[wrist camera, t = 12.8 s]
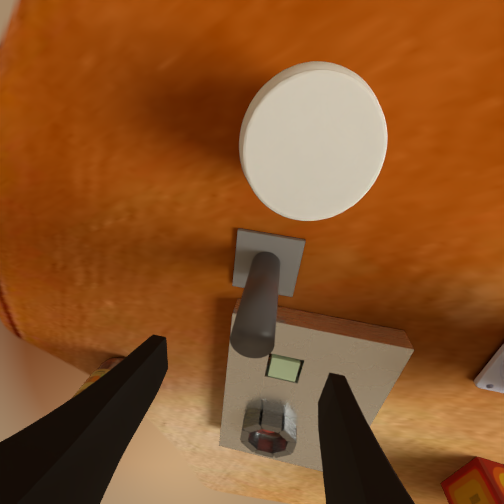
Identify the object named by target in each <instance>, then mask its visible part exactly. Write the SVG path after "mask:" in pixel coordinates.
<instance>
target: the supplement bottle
mask: <svg viewBox="0 0 504 504" xmlns="http://www.w3.org/2000/svg"><path fill="white" fill-rule="evenodd" d="M386 149H387V126H386V121H385V117H384V114H383V111H382V109H381V107H380V105H379V102H378V100H377V98H376V96H375V94H374V93H373V91H372V90H371V88H370V87H369V85H368V84H367V83H366V82H365V81H364V80H363V79H362V78H361V77H360V76H359V75H357V74H356V73H354V72H353V71H351V70H349V69H347V68H345V67H343V66H340V65H337V64H333V63H330V62H320V61H314V62H306V63H301V64H298V65H295V66H292V67H290V68H287V69H285V70H283V71H282V72H280V73H278V74H277V75H276V76H274V77H273V78H272V79H271V80H269V81H268V82H267V83H266V84H265V85H264V86H263V87H262V88H261V89H260V90H259V91H258V93H257V94H256V95H255V97H254V98H253V100H252V101H251V103H250V105H249V107H248V109H247V111H246V113H245V116H244V119H243V122H242V125H241V130H240V137H239V154H240V161H241V165H242V169H243V172H244V175H245V177H246V179H247V181H248V183H249V184H250V186H251V188H252V190H253V191H254V193H255V194H256V195H257V197H258V198H259V199H260V200H261V201H262V202H263V203H264V204H265V205H266V206H267V207H268V208H270V209H271V210H273V211H274V212H276V213H278V214H280V215H282V216H284V217H287V218H290V219H295V220H301V221H315V220H321V219H326V218H330V217H333V216H335V215H337V214H340V213H342V212H343V211H345V210H347V209H348V208H350V207H351V206H353V205H354V204H355V203H357V202H358V201H359V200H360V199H361V198H362V197H363V196H364V195H365V194H366V193H367V192H368V190H369V189H370V188H371V186H372V185H373V183H374V182H375V180H376V178H377V177H378V175H379V172H380V170H381V168H382V165H383V162H384V159H385V154H386Z"/></svg>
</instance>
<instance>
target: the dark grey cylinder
mask: <svg viewBox="0 0 504 504" xmlns="http://www.w3.org/2000/svg"><path fill="white" fill-rule="evenodd" d="M279 277H280V260H279V258H278V257H277V256H276V255H275V254H273V253H271V252H260V253H258V254H257V255H255V257H254V258H253V260H252V264H251V267H250V271H249V274H248V277H247V281H246V284H245V288H244V291H243V294H242V298H241V301H240V305H239V308H238V311H237V315H236V318H235V322H234V325H233V328H232V332H231V335H230V343H231V346H232V347H233V349H234V350H235V351H236V352H237V353H239V354H240V355H242V356H245V357H248V358H262V357H265V356H267V355H269V354H270V353H271V352H272V351H273V349H274V345H275V332H276V318H277V305H278V291H279Z"/></svg>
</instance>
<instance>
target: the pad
mask: <svg viewBox="0 0 504 504" xmlns="http://www.w3.org/2000/svg"><path fill="white" fill-rule="evenodd" d="M299 366H300V359H295V358H290V357H286V356H281V355H276V354H271V357H270V364H269V373H268V376H271V377H275V378H280V379H284V380H289V381H293V382H295V380H296V376H297V373H298V370H299Z"/></svg>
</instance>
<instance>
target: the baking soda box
mask: <svg viewBox="0 0 504 504" xmlns="http://www.w3.org/2000/svg"><path fill="white" fill-rule="evenodd" d="M441 486H442V488H443V490H444V493H445V495H446V498H447V500H448V503H449V504H504V465H503V464H500V463H497V462H493V461H490V460H487V459H484V458H480V457H475V458H474V459H473V460H471V461H470V462H469V463H467V464H466V465H465V466H463V467H462V468H461V469H459V470H458V471H457V472H455V473H454V474H453V475H451V476H450V477H448V478H447V479H446V480H444V481H443V482H442V483H441Z"/></svg>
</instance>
